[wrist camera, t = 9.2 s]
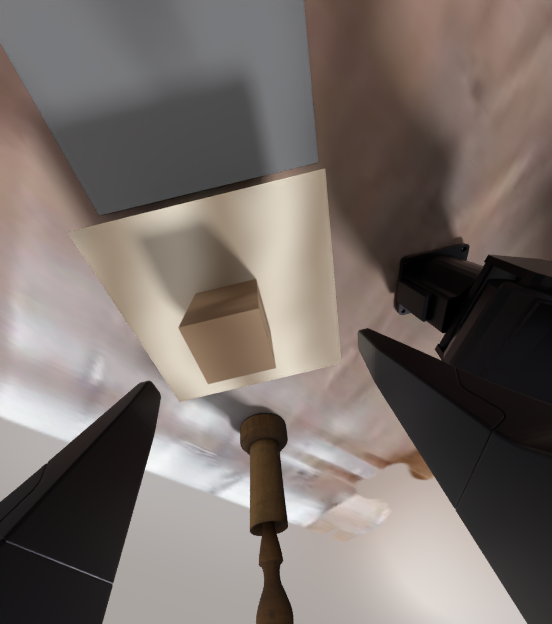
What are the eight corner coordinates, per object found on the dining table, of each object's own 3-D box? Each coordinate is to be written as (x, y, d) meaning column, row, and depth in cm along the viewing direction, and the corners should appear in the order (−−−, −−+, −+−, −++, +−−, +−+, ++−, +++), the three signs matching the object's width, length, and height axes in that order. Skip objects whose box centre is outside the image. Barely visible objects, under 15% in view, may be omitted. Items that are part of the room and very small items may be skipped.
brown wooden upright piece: (234, 437, 33) (221, 664, 17) (248, 409, 30) (248, 648, 14) (276, 442, 35) (298, 652, 19) (292, 416, 32) (334, 636, 16)
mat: (266, -357, 8) (267, -393, 8) (316, 163, 17) (318, 162, 16) (-154, -245, 9) (-180, -272, 8) (103, 214, 17) (98, 215, 17)
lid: (320, 169, 12) (358, 159, 8) (338, 357, 19) (363, 403, 15) (77, 229, 12) (-11, 250, 8) (182, 394, 19) (163, 450, 15)
